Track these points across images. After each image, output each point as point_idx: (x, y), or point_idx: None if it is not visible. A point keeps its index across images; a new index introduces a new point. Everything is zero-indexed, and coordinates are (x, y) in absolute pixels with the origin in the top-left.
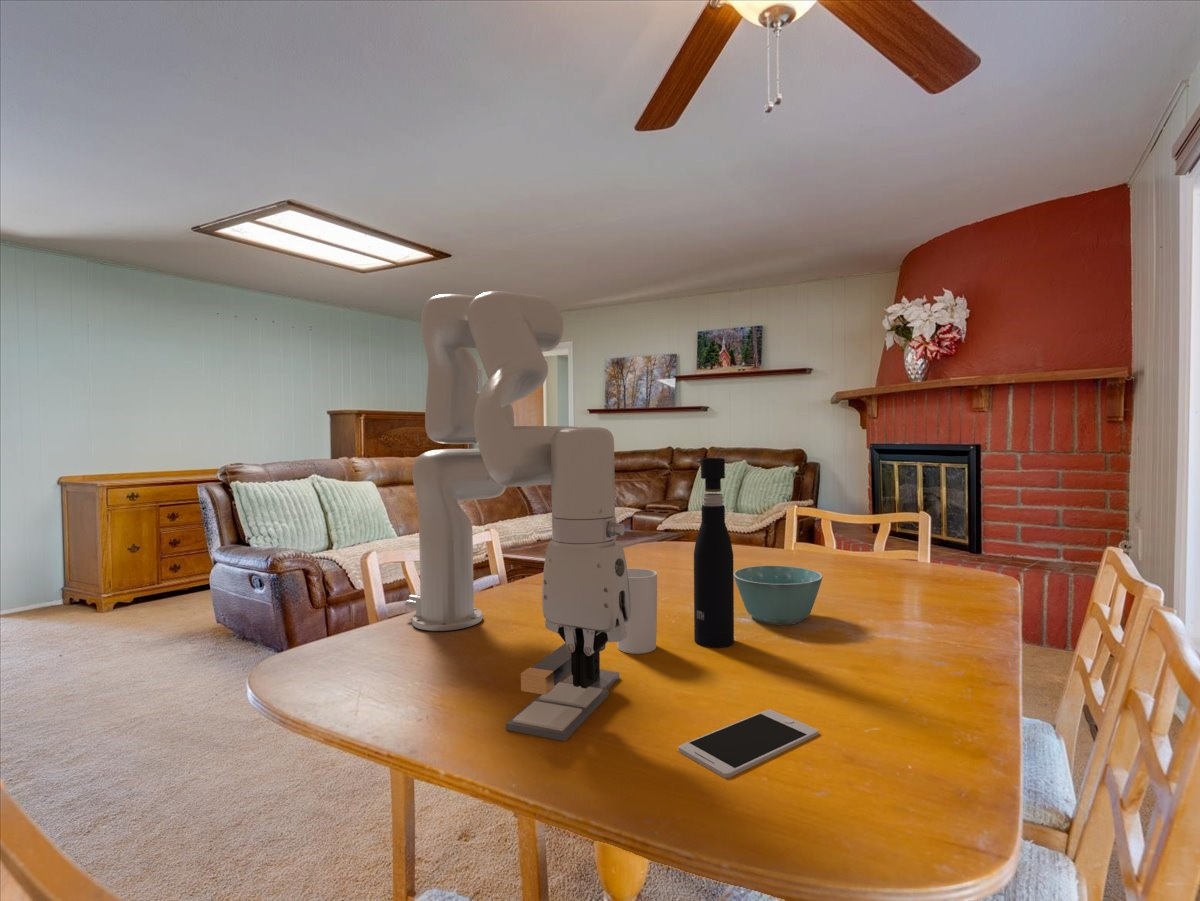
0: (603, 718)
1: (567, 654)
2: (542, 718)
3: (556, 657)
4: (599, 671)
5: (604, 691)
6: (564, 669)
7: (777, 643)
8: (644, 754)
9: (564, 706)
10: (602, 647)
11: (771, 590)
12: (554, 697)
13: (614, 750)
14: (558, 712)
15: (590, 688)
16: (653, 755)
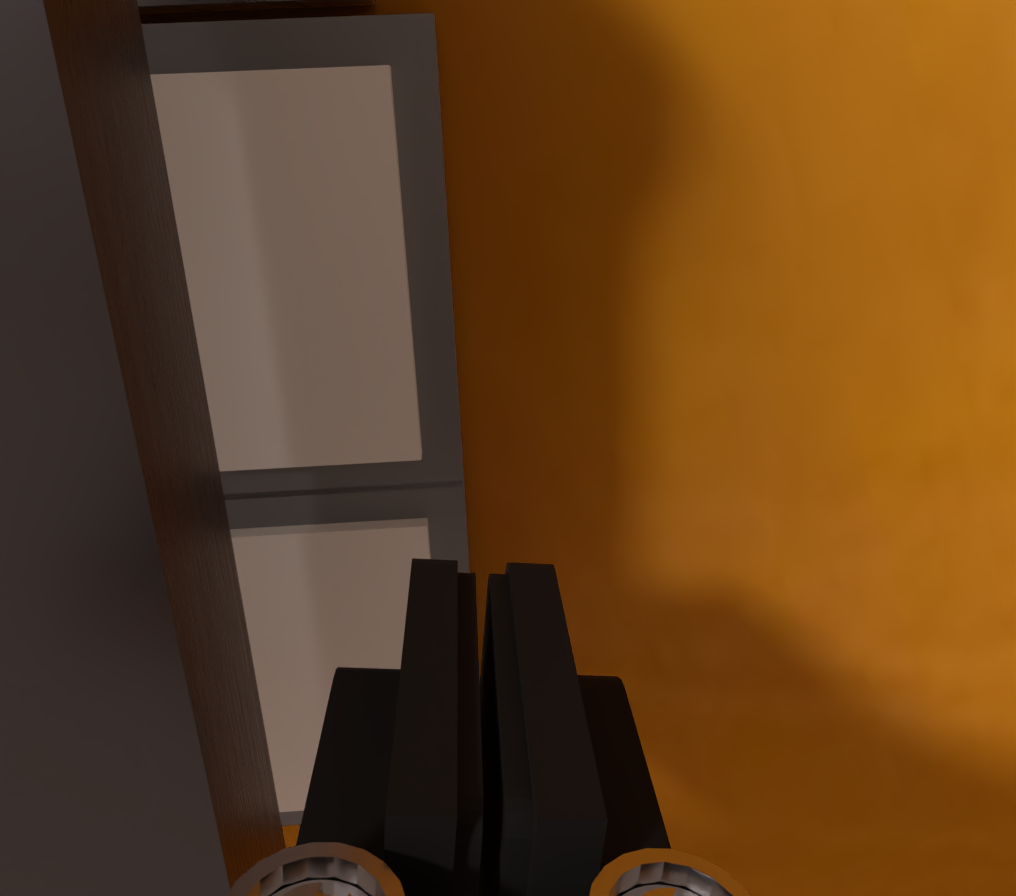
0: (573, 437)
1: (80, 689)
2: None
3: (22, 827)
4: (624, 690)
5: (415, 69)
6: (254, 849)
7: None
8: (954, 724)
9: (279, 543)
10: (732, 888)
11: None
12: None
13: (784, 750)
14: (296, 637)
15: (276, 109)
16: (1004, 714)
